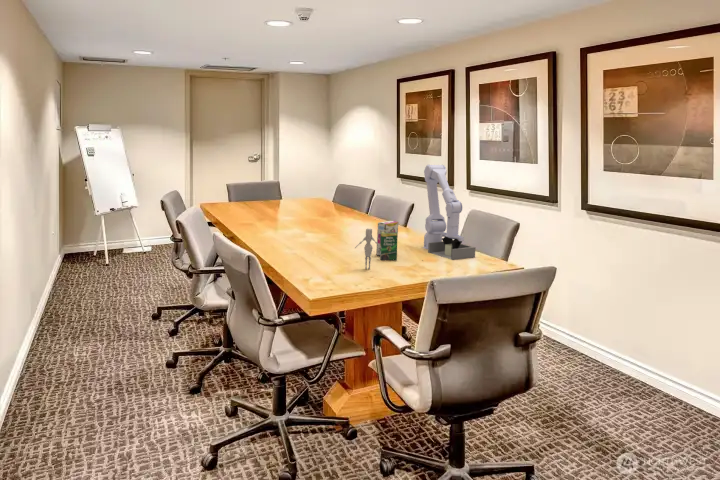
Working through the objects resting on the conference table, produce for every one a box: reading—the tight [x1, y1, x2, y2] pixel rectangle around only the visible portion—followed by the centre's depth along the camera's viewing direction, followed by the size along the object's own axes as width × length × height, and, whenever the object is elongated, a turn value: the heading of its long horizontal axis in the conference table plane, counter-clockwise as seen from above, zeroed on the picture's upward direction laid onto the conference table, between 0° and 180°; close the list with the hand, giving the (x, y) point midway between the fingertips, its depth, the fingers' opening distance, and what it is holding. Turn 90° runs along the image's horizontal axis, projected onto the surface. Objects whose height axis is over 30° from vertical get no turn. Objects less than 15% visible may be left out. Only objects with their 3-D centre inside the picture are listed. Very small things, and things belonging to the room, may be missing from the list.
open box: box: [427, 240, 476, 261], centre depth 277 cm, size 19×14×6 cm
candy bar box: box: [375, 220, 399, 257], centre depth 275 cm, size 11×5×16 cm, turn 141°
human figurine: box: [354, 228, 381, 270], centre depth 243 cm, size 12×4×18 cm, turn 96°
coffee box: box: [379, 232, 398, 261], centre depth 263 cm, size 8×3×13 cm, turn 92°
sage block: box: [445, 244, 452, 256], centre depth 277 cm, size 4×4×5 cm
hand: (451, 253), depth 277 cm, fingers closed on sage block, 4 cm apart
